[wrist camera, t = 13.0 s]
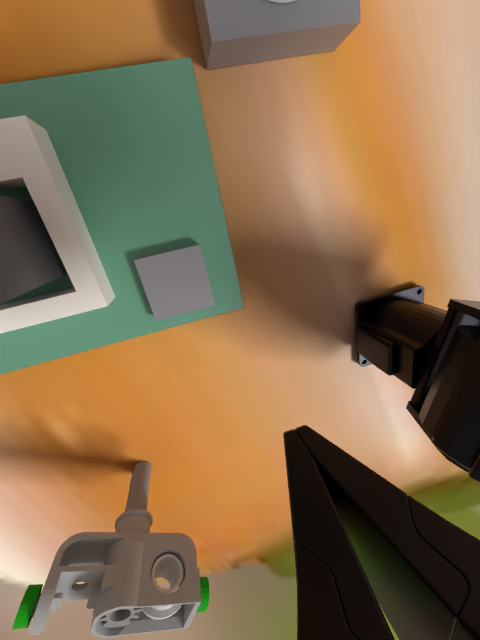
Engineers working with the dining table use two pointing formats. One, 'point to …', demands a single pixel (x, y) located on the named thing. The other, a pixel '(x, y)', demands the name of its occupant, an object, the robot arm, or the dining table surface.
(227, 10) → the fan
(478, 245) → the dining table surface
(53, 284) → the board
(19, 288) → the plug
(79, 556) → the mechanical component
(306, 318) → the dining table surface
